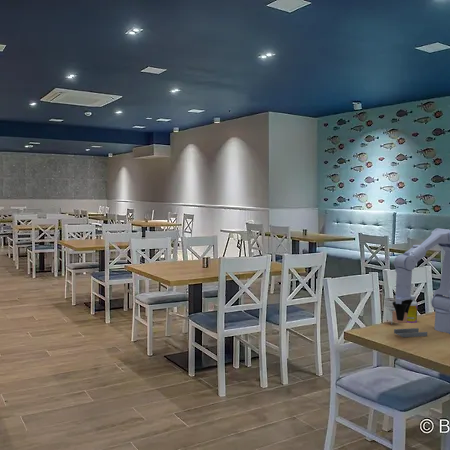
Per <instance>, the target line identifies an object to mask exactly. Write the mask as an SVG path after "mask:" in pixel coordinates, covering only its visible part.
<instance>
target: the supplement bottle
mask: <svg viewBox="0 0 450 450" xmlns="http://www.w3.org/2000/svg"><path fill="white" fill-rule="evenodd" d="M411 297H414V299H411V300H413V302H412V303H411V305H410V308H409V311H408V315H407V323H408V324H415V323H418V306H419V305H418V302H417V301H416V299H417V298H416V295H414V294H411Z"/></svg>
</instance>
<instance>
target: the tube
mask: <svg viewBox="0 0 450 450" xmlns="http://www.w3.org/2000/svg"><path fill="white" fill-rule="evenodd" d="M419 330H420V328H418V327H417V328H415V327H413V328H412V327H411V328H410V327H409V328H394V329H393V334H395V335H398V336H400V337H401V338H415V337H416V338H417V337H428V331H422V332H421V331H419Z"/></svg>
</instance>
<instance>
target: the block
mask: <svg viewBox="0 0 450 450" xmlns="http://www.w3.org/2000/svg"><path fill="white" fill-rule="evenodd" d="M392 322H394V323H396V324H407V323H408V322H407V313H406V312H405V314H404V319H403V321H400V320H397V316H396V311H393V316H392Z"/></svg>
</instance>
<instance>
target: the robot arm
mask: <svg viewBox="0 0 450 450" xmlns="http://www.w3.org/2000/svg"><path fill="white" fill-rule="evenodd" d="M437 245H438V246H439V247H440V248H442V249H443V251H444V256H443V262H442V263H443V264H442V269H441V276H440V277H441V278H440V283H439V288H438V289H437V288H436V289H435V290H434V291H433V296H432V298H431V301H430V303H431V307H432V308H433V311H435V312H434V313H435V315H434V330H435V331H438V332H440V333H446V334H449V335H450V229H448V228H447V229H446V228H440V227H437V228H434V230H431V233H430V235H429V236H428V237H427V238H426V239H425V240H424V241H422V243H420V244H413V245H412V247H411V248H409V249H408V250H406V251H404V253H403V254H399V255H397V256H396V257H395V258H394V261H393V266H394V268H395V270H394V271H395V272H396V275H395V276H396V277H395V278H396V279H395V280H396V281H395V294H394V298H395V299H396V302H393V306H394V308H395V311H396V316H397V320H400V321H403V319H404V314H405V312H406V313H407V315H408V311H409V308H410V305H411V303H412V302H413V300H411V299H414V297H411V295H412V281H413V280H412V278H413V277H412V275H413V270H414V269H415V268H416V265H417V264H418V262H420V260H421V259H423V258H424V257H426V255H427V251H429V250H431V249H432V248H434V247H436V246H437Z"/></svg>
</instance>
